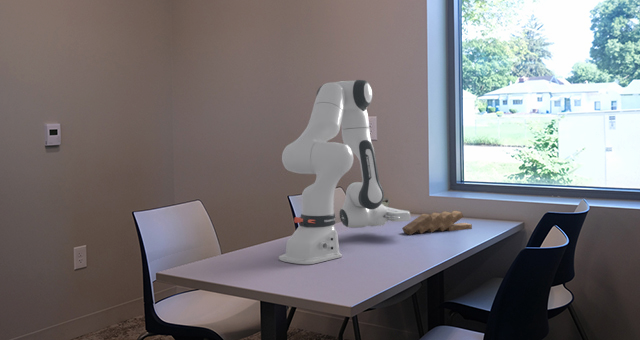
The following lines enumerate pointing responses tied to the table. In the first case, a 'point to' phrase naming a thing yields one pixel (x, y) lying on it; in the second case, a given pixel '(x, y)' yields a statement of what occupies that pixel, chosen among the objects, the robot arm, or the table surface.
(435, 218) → the domino
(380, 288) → the table surface
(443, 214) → the domino
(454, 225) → the domino
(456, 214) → the domino
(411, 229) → the domino
